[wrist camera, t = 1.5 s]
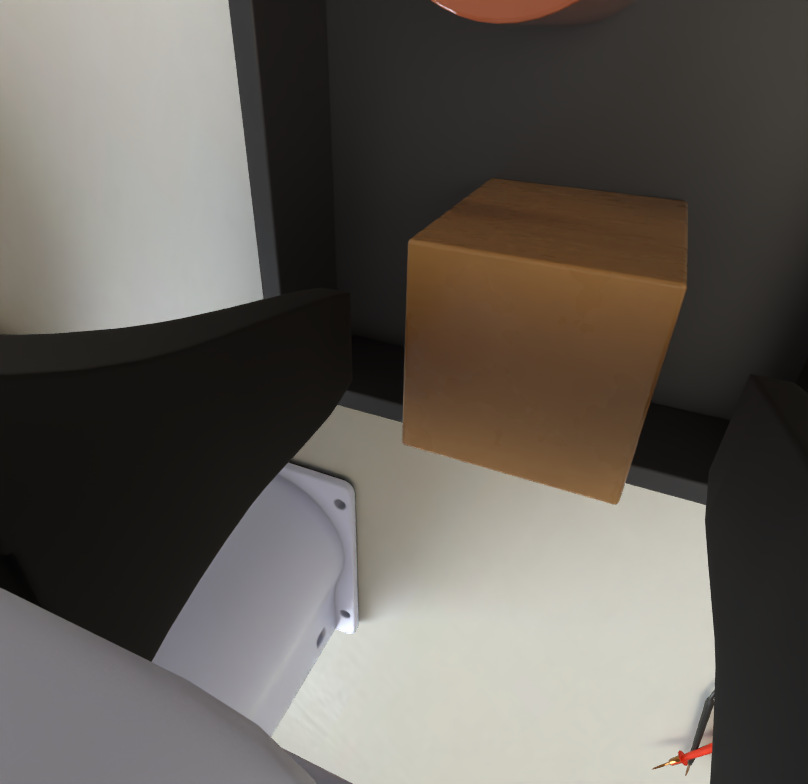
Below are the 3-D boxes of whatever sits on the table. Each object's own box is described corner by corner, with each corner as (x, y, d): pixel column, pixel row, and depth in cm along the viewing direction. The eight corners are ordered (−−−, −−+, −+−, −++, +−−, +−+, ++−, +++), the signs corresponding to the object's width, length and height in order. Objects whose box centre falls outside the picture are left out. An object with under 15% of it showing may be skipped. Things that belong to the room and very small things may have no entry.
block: (637, 375, 15) (617, 507, 11) (472, 340, 17) (400, 445, 12) (689, 200, 13) (688, 285, 9) (489, 177, 14) (406, 239, 10)
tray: (787, 443, 15) (808, 533, 12) (331, 337, 19) (273, 388, 17) (1263, -508, 7) (1625, -849, 4) (298, -327, 11) (175, -439, 9)
